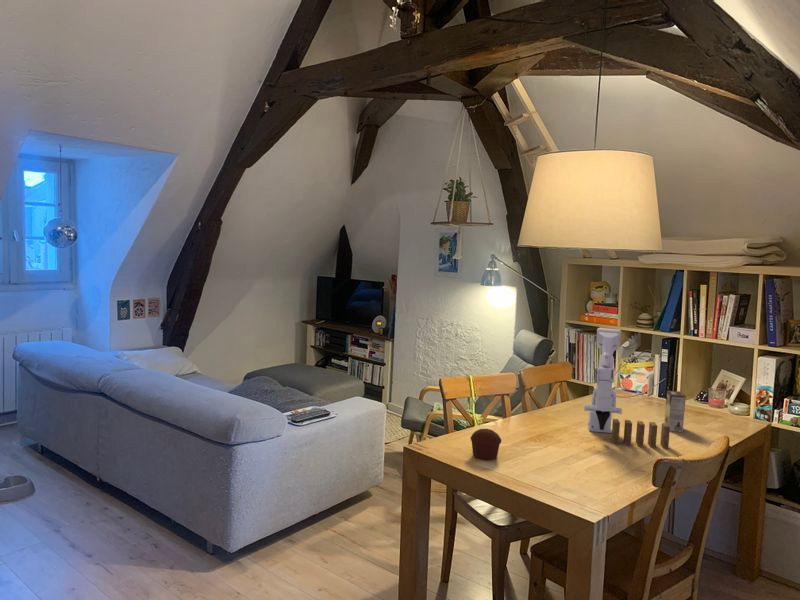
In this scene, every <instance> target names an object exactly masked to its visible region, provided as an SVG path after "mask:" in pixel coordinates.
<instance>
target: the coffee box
mask: <svg viewBox="0 0 800 600" xmlns="http://www.w3.org/2000/svg"><path fill="white" fill-rule="evenodd" d="M686 399H687V396H686V395H685V394H684V392H682V391H679V390H678V391H677V390H666V398H665V409H664V410H665V411H664V412H665V413H664V421H663V423H667V424H668V425H669V426H670V432H676V431H678V432H679V433H683V432H684V431H683V429H684V420H685V412H686V411H685V409H686Z"/></svg>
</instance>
